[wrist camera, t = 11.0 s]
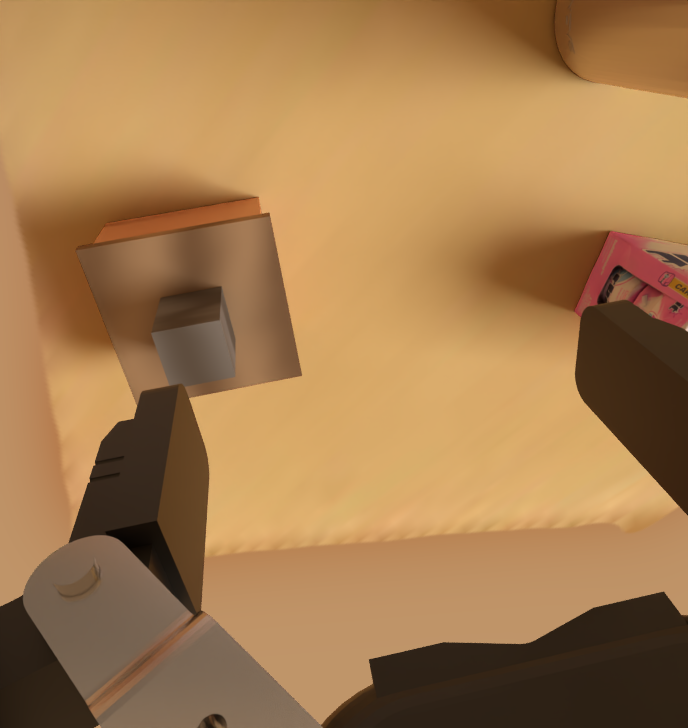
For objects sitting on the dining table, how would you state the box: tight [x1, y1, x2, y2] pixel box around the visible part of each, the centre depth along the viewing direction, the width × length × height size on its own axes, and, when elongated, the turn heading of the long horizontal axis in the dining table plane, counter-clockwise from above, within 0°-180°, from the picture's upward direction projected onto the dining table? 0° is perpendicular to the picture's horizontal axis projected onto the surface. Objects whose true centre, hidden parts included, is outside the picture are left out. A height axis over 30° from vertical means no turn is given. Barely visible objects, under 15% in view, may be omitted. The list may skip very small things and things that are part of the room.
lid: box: [76, 213, 302, 405], centre depth 37 cm, size 12×12×6 cm
